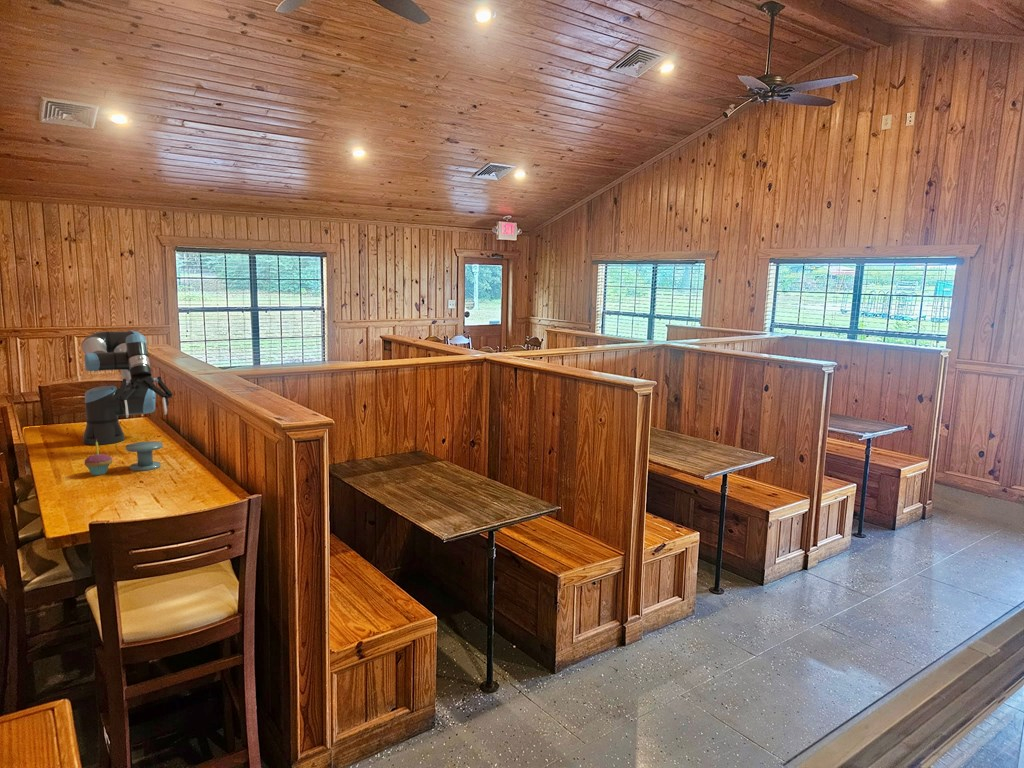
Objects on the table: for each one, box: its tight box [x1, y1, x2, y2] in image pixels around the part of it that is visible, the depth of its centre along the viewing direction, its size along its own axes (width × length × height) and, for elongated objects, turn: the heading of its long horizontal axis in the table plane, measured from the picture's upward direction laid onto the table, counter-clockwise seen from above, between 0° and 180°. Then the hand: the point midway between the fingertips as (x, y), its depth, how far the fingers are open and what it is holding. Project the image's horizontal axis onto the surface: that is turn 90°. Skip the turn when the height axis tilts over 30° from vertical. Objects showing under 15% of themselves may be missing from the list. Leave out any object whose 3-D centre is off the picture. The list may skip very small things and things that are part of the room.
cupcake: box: [83, 440, 113, 476], centre depth 233 cm, size 9×8×12 cm
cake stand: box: [125, 440, 164, 472], centre depth 242 cm, size 12×12×8 cm
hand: (147, 414), depth 262 cm, fingers open, 13 cm apart
